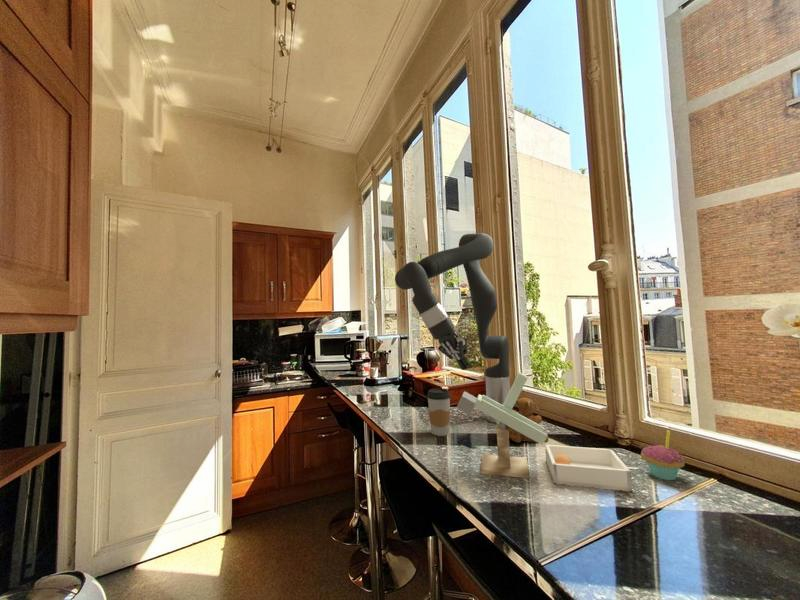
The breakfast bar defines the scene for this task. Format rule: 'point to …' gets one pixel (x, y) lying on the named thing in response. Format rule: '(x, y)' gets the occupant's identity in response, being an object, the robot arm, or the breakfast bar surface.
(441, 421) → the coffee cup
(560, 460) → the ball
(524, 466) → the fulcrum stand
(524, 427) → the tilting chute
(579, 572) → the breakfast bar surface
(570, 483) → the tub
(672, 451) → the cupcake
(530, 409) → the stuffed squirrel
